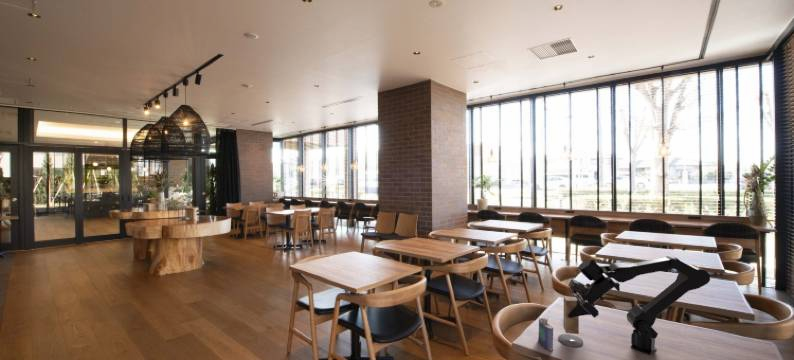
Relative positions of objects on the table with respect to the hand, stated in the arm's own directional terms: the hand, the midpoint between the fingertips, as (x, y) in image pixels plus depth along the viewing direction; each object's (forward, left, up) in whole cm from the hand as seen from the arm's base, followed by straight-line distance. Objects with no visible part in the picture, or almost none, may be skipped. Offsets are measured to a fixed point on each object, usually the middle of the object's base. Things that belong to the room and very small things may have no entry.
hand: (567, 314), depth 139 cm
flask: (+3, +10, -11) cm, 15 cm away
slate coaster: (-1, -1, -11) cm, 11 cm away
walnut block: (-1, -1, -7) cm, 7 cm away
